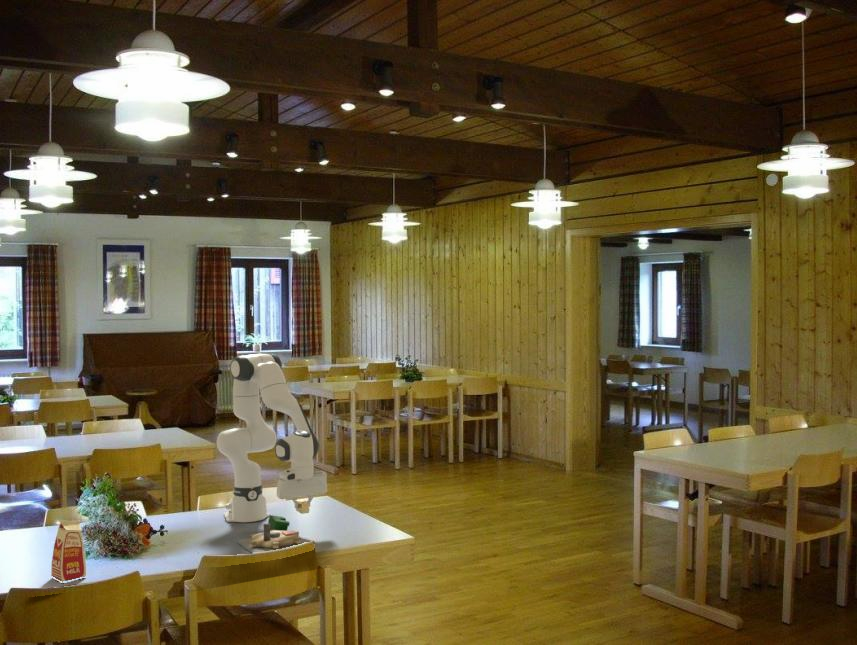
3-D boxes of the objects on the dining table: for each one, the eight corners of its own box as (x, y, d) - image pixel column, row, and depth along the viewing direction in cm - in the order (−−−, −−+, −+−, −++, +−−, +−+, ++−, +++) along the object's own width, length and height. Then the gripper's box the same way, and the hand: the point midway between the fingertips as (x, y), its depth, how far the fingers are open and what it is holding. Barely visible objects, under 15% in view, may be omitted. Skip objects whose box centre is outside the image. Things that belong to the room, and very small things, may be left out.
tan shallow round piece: (238, 546, 315) (237, 524, 315) (262, 533, 333) (261, 513, 333) (288, 549, 309) (287, 527, 309) (310, 536, 327) (309, 515, 327)
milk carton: (62, 584, 278) (61, 523, 278) (49, 579, 284) (48, 519, 284) (89, 577, 285) (88, 517, 285) (76, 572, 291) (75, 514, 291)
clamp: (284, 544, 338) (291, 525, 335) (269, 542, 336) (276, 523, 333) (280, 526, 348) (287, 508, 346) (266, 524, 346) (272, 506, 343)
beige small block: (296, 510, 337) (296, 500, 337) (303, 509, 339) (303, 499, 339) (301, 513, 332) (301, 503, 332) (309, 512, 334) (308, 502, 333)
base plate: (237, 542, 325) (237, 540, 325) (291, 534, 336) (291, 532, 336) (256, 556, 306) (256, 553, 306) (313, 546, 317) (313, 544, 317)
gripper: (323, 468, 343) (323, 502, 343) (275, 473, 332) (275, 508, 333) (329, 471, 337) (330, 505, 338) (280, 476, 327) (281, 512, 327)
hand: (302, 507), depth 335 cm, fingers closed on beige small block, 3 cm apart
